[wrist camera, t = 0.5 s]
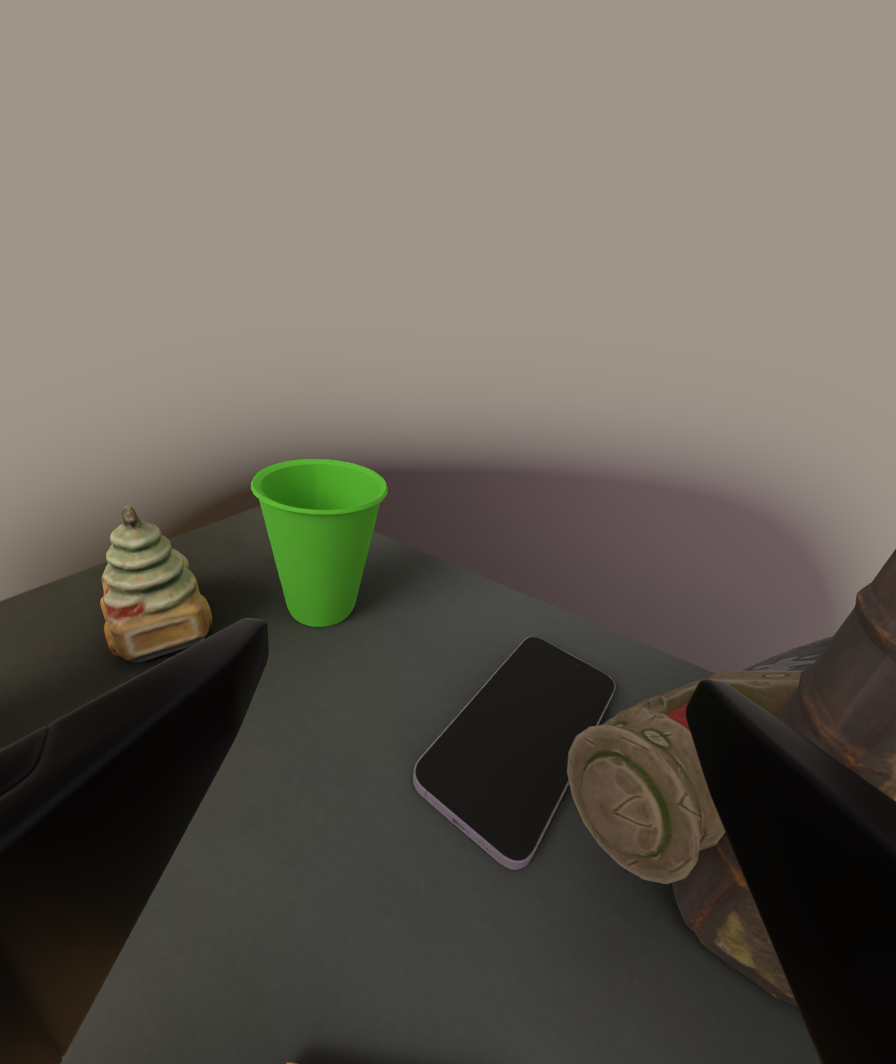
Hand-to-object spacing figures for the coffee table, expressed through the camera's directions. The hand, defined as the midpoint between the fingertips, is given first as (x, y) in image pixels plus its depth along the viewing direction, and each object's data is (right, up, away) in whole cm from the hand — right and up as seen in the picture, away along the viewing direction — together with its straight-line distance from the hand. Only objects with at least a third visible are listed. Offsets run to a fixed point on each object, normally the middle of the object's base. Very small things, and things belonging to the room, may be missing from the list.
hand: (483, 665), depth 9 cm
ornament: (-21, -4, +22) cm, 31 cm away
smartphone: (+4, -10, +19) cm, 22 cm away
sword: (+7, -11, +20) cm, 24 cm away
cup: (-11, -4, +26) cm, 29 cm away
